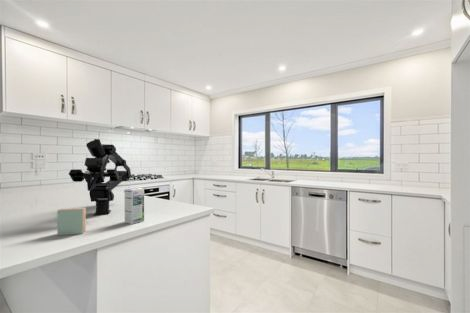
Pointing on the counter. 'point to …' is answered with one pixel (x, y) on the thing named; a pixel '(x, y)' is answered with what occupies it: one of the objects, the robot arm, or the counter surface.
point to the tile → (71, 221)
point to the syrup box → (134, 205)
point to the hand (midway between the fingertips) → (88, 190)
